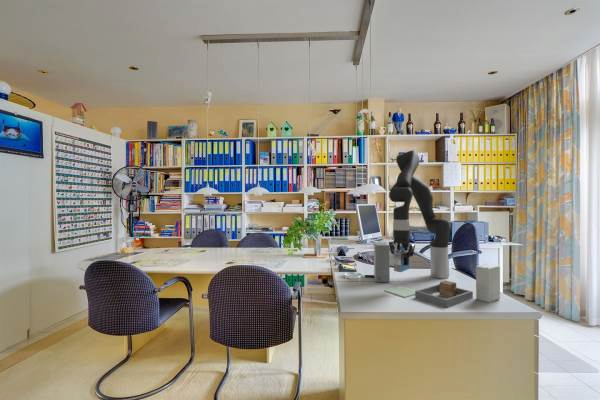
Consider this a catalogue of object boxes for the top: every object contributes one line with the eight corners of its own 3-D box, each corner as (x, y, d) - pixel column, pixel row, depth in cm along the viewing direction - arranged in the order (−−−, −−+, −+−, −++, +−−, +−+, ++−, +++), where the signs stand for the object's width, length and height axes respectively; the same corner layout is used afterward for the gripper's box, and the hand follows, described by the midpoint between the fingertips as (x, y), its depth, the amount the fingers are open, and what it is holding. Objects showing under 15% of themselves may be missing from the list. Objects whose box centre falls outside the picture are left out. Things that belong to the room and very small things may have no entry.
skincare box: (487, 295, 133) (486, 263, 133) (501, 299, 128) (500, 265, 128) (475, 298, 130) (474, 265, 130) (489, 302, 124) (488, 267, 124)
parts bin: (441, 289, 143) (440, 283, 143) (472, 298, 130) (472, 291, 130) (415, 297, 132) (415, 290, 132) (447, 307, 120) (447, 300, 120)
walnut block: (445, 293, 138) (445, 280, 138) (456, 295, 134) (456, 282, 134) (439, 295, 136) (439, 282, 136) (450, 297, 131) (450, 284, 131)
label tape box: (401, 268, 145) (401, 243, 145) (409, 269, 142) (409, 243, 143) (393, 271, 139) (392, 245, 139) (401, 272, 136) (401, 246, 136)
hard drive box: (390, 283, 156) (389, 245, 156) (375, 282, 158) (374, 245, 158) (387, 275, 171) (386, 241, 171) (373, 275, 173) (373, 241, 173)
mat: (400, 286, 149) (400, 285, 149) (421, 292, 139) (421, 291, 139) (384, 291, 142) (384, 290, 142) (404, 297, 132) (404, 296, 132)
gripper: (384, 228, 145) (384, 262, 145) (408, 230, 133) (409, 268, 133) (394, 227, 149) (394, 260, 149) (419, 229, 137) (419, 266, 137)
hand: (401, 264), depth 141 cm, fingers closed on label tape box, 4 cm apart
